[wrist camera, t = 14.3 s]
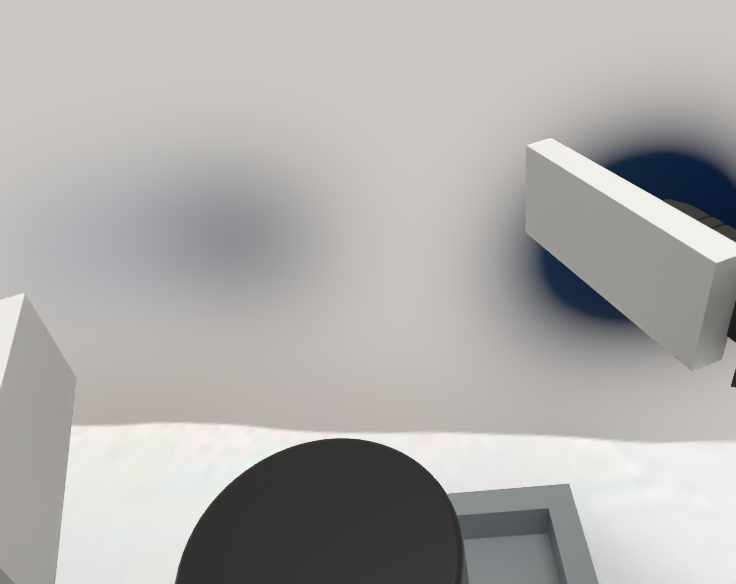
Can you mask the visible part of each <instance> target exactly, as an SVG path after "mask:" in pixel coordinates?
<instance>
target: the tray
mask: <svg viewBox="0 0 736 584" xmlns="http://www.w3.org/2000/svg"><path fill="white" fill-rule="evenodd" d="M447 496H448V497H449V499H450V501H451V503H452V505H453V507H454V509H455V511H456V514H457V517H458V519H459V522H460V526H461V530H462V535H463V540H464V548H465V555H466V563H467V570H468V578H469V584H598V580H597V577H596V574H595V570H594V567H593V563H592V560H591V557H590V553H589V550H588V546H587V543H586V540H585V536H584V533H583V529H582V526H581V523H580V519H579V516H578V513H577V509H576V506H575V502H574V499H573V496H572V492H571V489H570V485H569V484H559V485H547V486H535V487H523V488H511V489H499V490H487V491H475V492H463V493H451V494H447Z"/></svg>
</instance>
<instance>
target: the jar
mask: <svg viewBox="0 0 736 584" xmlns="http://www.w3.org/2000/svg"><path fill="white" fill-rule="evenodd" d="M175 584H469V578H468V570H467V563H466V555H465V548H464V540H463V535H462V530H461V526H460V522H459V519H458V517H457V514H456V511H455V509H454V507H453V505H452V503H451V501H450V499H449V497H448V496H447V494H446V492H445V491H444V489H443V488H442V486H441V485H440V484H439V482H438V481H437V480H436V479H435V478H434V477H433V476H432V474H431V473H430V472H428V471H427V470H426V469H425V468H424V467H423V466H422V465H420V464H419V463H418V462H416V461H415V460H414V459H412V458H410V457H409V456H407V455H405V454H404V453H402V452H400V451H397V450H395V449H393V448H390V447H388V446H385V445H382V444H379V443H375V442H371V441H365V440H359V439H348V438H336V439H324V440H317V441H312V442H307V443H303V444H299V445H296V446H293V447H290V448H287V449H285V450H282V451H280V452H277V453H275V454H273V455H271V456H269V457H267V458H265V459H264V460H262V461H260V462H258V463H257V464H255V465H254V466H252V467H251V468H249V469H248V470H246V471H245V472H243V473H242V474H241V475H240V476H238V477H237V478H236V479H235V480H233V481H232V482H231V483H230V484H229V485H228V486H227V487H226V488H225V489H224V490H223V491H222V492H221V493H220V494H219V495H218V496H217V497H216V498H215V500H214V501H213V502H212V503H211V504H210V506H209V507H208V508H207V510H206V511H205V512H204V514H203V515H202V517H201V518H200V520H199V521H198V523H197V525H196V526H195V528H194V530H193V532H192V534H191V536H190V538H189V540H188V542H187V544H186V547H185V549H184V552H183V554H182V557H181V561H180V564H179V567H178V572H177V576H176V581H175Z"/></svg>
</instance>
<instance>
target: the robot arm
mask: <svg viewBox="0 0 736 584" xmlns="http://www.w3.org/2000/svg"><path fill="white" fill-rule="evenodd" d="M526 233H527V234H529V235H530V236H531V237H532V238H533V239H534V240H536V241H537V242H538V243H539V244H540V245H542V246H543V247H544V248H545V249H546V250H548V251H549V252H550V253H551V254H552V255H554V256H555V257H556V258H557V259H558V260H560V261H561V262H562V263H563V264H564V265H566V266H567V267H568V268H569V269H570V270H572V271H573V272H574V273H575V274H576V275H577V276H579V277H580V278H581V279H582V280H583V281H585V282H586V283H587V284H589V285H590V286H591V287H592V288H593V289H594V290H595V291H597V292H598V293H599V294H600V295H601V296H603V297H604V298H605V299H606V300H607V301H609V302H610V303H611V304H612V305H613V306H615V307H616V308H617V309H618V310H619V311H620V312H622V313H623V314H624V315H625V316H627V317H628V318H629V319H630V320H631V321H632V322H634V323H635V324H636V325H637V326H638V327H640V328H641V329H642V330H643V331H644V332H646V333H647V334H648V335H649V336H650V337H652V338H653V339H654V340H655V341H656V342H657V343H659V344H660V345H661V346H662V347H664V348H665V349H666V350H667V351H668V352H669V353H671V354H672V355H673V356H674V357H676V358H677V359H678V360H679V361H680V362H682V363H683V364H684V365H685V366H686V367H688V368H689V369H690V370H691V371H693V370H695V369H698V368H701V367H703V366H705V365H709V364H711V363H714V362H716V361H719V360H721V359H722V357H723V353H724V349H725V345H726V342H727V338H728V337H729V338H731V339H732V340H733V341H734V342H736V230H735V229H734V228H732V227H730V226H728V225H726V226H724V223H723V222H721V221H719V220H717V219H715V218H714V217H711V218H710V217H709V215H708V214H706V213H704V212H703V211H700V210H699V209H697V208H695V207H693V206H691V205H688V204H685V203H681V202H677V201H674V200H670V199H666V200H663V201H661V200H659V199H658V198H656V197H654V196H653V195H651V194H649V193H647V192H646V191H644V190H642V189H640V188H639V187H637V186H635V185H633V184H631V183H630V182H628V181H626V180H624V179H623V178H621V177H619V176H617V175H616V174H614V173H612V172H610V171H608V170H607V169H605V168H603V167H601V166H600V165H598V164H596V163H594V162H593V161H591V160H589V159H587V158H586V157H584V156H582V155H580V154H578V153H577V152H575V151H573V150H571V149H569V148H568V147H566V146H564V145H563V144H561V143H559V142H557V141H555V140H554V139H552V138H549V139H546V140H542V141H539V142H536V143H532V144H529V145H526ZM75 385H76V376H75V375H74V373H73V371H72V370H71V368H70V366H69V365H68V363H67V361H66V360H65V358H64V356H63V355H62V353H61V351H60V350H59V348H58V346H57V345H56V343H55V342H54V340H53V338H52V336H51V335H50V333H49V332H48V330H47V328H46V327H45V325H44V323H43V322H42V320H41V318H40V317H39V315H38V314H37V312H36V310H35V309H34V307H33V305H32V303H31V302H30V300H29V299H28V297H27V295H26V294H25V293H22V294H19V295H16V296H12V297H9V298H5V299H3V300H0V584H55V577H56V568H57V558H58V548H59V539H60V529H61V520H62V510H63V500H64V491H65V481H66V471H67V462H68V452H69V442H70V433H71V422H72V414H73V404H74V394H75ZM731 387H736V369H735V373H734V376H733V380H732V384H731Z"/></svg>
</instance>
